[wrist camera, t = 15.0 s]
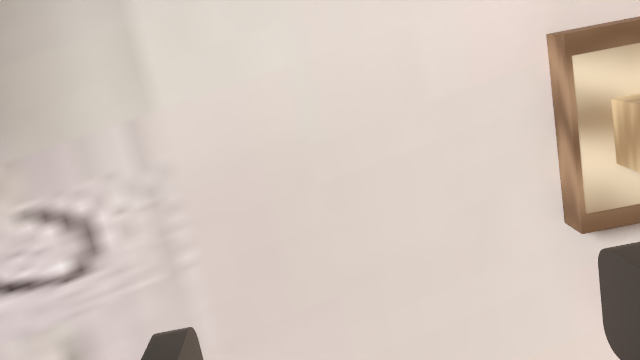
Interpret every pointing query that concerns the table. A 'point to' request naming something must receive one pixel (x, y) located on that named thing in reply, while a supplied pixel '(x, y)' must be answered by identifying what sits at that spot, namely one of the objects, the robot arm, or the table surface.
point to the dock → (594, 122)
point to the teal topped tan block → (627, 130)
